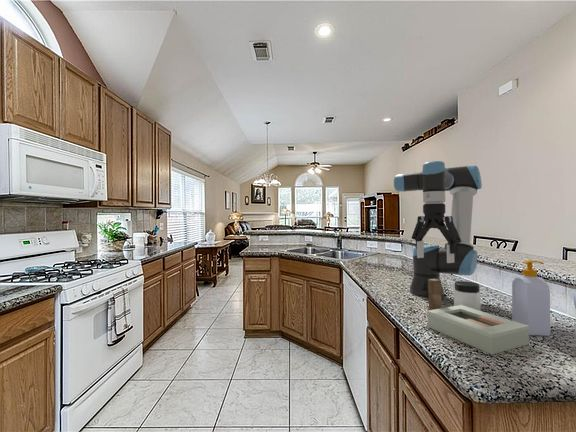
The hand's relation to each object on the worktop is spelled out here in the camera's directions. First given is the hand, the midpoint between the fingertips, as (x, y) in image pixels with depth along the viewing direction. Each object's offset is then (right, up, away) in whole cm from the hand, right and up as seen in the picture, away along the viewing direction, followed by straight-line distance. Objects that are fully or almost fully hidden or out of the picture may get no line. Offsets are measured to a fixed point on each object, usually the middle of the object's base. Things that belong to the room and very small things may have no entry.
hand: (434, 260), depth 111 cm
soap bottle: (+25, -21, -14) cm, 36 cm away
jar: (+13, -21, +2) cm, 25 cm away
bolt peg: (0, -21, 0) cm, 21 cm away
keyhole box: (+5, -21, -16) cm, 27 cm away
